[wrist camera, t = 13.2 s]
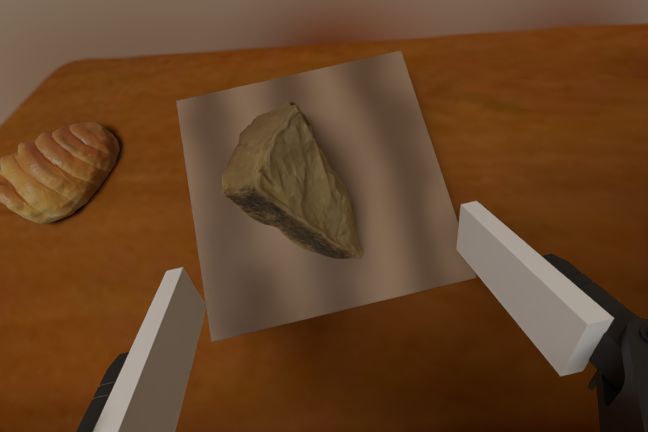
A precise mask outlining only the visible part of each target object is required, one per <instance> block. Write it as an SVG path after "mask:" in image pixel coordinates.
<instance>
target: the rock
mask: <svg viewBox="0 0 648 432" xmlns="http://www.w3.org/2000/svg"><path fill="white" fill-rule="evenodd" d="M222 195H223V196H224V197H226V198H227V199H228V200H229V201H231V202H233V203H234V204H235V205H236V206H237V207H238V208H239V209H241V210H242V211H243V212H244V213H245V214H246V215H248V216H249V217H251V218H252V219H254V220H256V221H257V222H259V223H262V224H264V225H270V226H273V227H276V228H278V229H279V230H280V231H281V233H282V234H283V235H284V236H286V237H287V238H288V239H289V240H290V241H291V242H292V243H294V244H296V245H298V246H299V247H301V248H303V249H306V250H308V251H311V252H314V253H317V254H320V255H324V256H327V257H330V258H336V259H348V258H356V259H360V257H361V256H362V254H363V251H362V249H361V247H360V246H359V243H358V237H357V231H356V227H355V217H354V213H353V209H352V208H353V204H352V202H351V200H350V197H349V196H348V192H347V189H346V187H345V185H344V184H343V183H342V181H341V180H340V178H339V177H338V175H337V173H336V172H335V171H334V170H333V169H331V166H330V165H329V163H328V161H327V157H326V156H325V155H324V153H323V152H322V150H321V149H320V148H319V147H318V144H317V142H316V140H315V138H314V136H313V132H312V124H311V122H310V120H309V119H308V117H307V115H306V114H304V113H303V112H302V110H301V109H300V108H299V106H298V105H297V104H296V103H294V102H293V101H288V102H286V103H284V104H283V105H281V106H280V107H278V108H277V109H275V110H273V111H271V112H268V113H264V114H261V115H258V116H257V117H256V118H255V119H254V120H253V122H252V123H251V124H250V125H248V126H247V128H245V129H244V130H243V132H241V133H240V135H239V144H238V145H237V147H236V148H235V150H234V152H233V154H232V156H231V158H230V160H229V162H228V165H227V168H226V170H225V171H224V173H223V175H222Z"/></svg>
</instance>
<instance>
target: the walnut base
mask: <svg viewBox="0 0 648 432" xmlns="http://www.w3.org/2000/svg"><path fill="white" fill-rule="evenodd" d="M288 101H293V102H294V103H296V104H297V105H298V106H299V108H300V109H301V110H302V112H303V113H304V114H306V115H307V117H308V119H309V120H310V122H311V124H312V132H313V136H314V138H315V140H316V142H317V144H318V147H319V148H320V149H321V150H322V152H323V153H324V155H325V156H326V157H327V161H328V163H329V165H330V166H331V169H333V170H334V171H335V172H336V173H337V175H338V177H339V178H340V180H341V181H342V183H343V184H344V185H345V187H346V189H347V192H348V196H349V197H350V200H351V202H352V204H353V208H352V209H353V213H354V217H355V227H356V231H357V237H358V243H359V246H360V247H361V249H362V251H363V254H362V256H361V257H360V259H356V258H348V259H336V258H330V257H327V256H324V255H320V254H317V253H314V252H311V251H308V250H306V249H303V248H301V247H299V246H298V245H296V244H294V243H292V242H291V241H290V240H289V239H288V238H287V237H286V236H284V235H283V234H282V233H281V231H280V230H279V229H278V228H276V227H273V226H270V225H264V224H262V223H259V222H257V221H256V220H254V219H252V218H251V217H249V216H248V215H246V214H245V213H244V212H243V211H242V210H241V209H239V208H238V207H237V206H236V205H235V204H234V203H233V202H231V201H229V200H228V199H227V198H226V197H224V196H223V195H222V175H223V173H224V171H225V170H226V168H227V165H228V162H229V160H230V158H231V156H232V154H233V152H234V150H235V148H236V147H237V145H238V144H239V135H240V133H241V132H243V130H244V129H245V128H247V126H248V125H250V124H251V123H252V122H253V120H254V119H255V118H256V117H257V116H258V115H261V114H264V113H268V112H271V111H273V110H275V109H277V108H278V107H280V106H281V105H283V104H284V103H286V102H288ZM176 102H177V109H178V116H179V123H180V130H181V136H182V143H183V150H184V157H185V164H186V171H187V178H188V184H189V191H190V198H191V205H192V212H193V219H194V226H195V232H196V239H197V246H198V253H199V260H200V267H201V273H202V280H203V287H204V294H205V301H206V306H207V315H208V321H209V328H210V335H211V342H213V341H217V340H222V339H226V338H230V337H234V336H238V335H242V334H246V333H251V332H255V331H259V330H263V329H267V328H271V327H275V326H279V325H284V324H288V323H292V322H296V321H300V320H304V319H308V318H312V317H317V316H321V315H325V314H329V313H333V312H337V311H341V310H346V309H350V308H354V307H358V306H362V305H366V304H370V303H374V302H379V301H383V300H387V299H391V298H395V297H399V296H403V295H408V294H412V293H416V292H420V291H424V290H428V289H432V288H436V287H441V286H445V285H449V284H453V283H457V282H461V281H465V280H469V279H474V278H476V275H475V272H474V270H473V269H472V268H471V267H470V265H469V264H468V263H467V262H466V260H465V259H464V258H463V257H462V256H461V254H460V253H459V252H458V251H457V249H456V248H457V238H458V228H459V224H458V221H457V218H456V215H455V212H454V209H453V206H452V203H451V200H450V197H449V194H448V191H447V188H446V185H445V182H444V179H443V176H442V173H441V170H440V167H439V164H438V161H437V158H436V155H435V152H434V149H433V146H432V143H431V140H430V137H429V134H428V131H427V128H426V125H425V122H424V119H423V116H422V113H421V110H420V107H419V104H418V101H417V98H416V95H415V92H414V89H413V86H412V83H411V80H410V77H409V74H408V71H407V68H406V65H405V62H404V59H403V56H402V53H401V51H397V52H392V53H388V54H384V55H379V56H375V57H370V58H366V59H361V60H357V61H352V62H348V63H343V64H339V65H335V66H330V67H326V68H321V69H317V70H312V71H308V72H303V73H299V74H294V75H290V76H285V77H281V78H277V79H272V80H268V81H263V82H259V83H254V84H250V85H245V86H241V87H236V88H232V89H228V90H223V91H219V92H214V93H210V94H205V95H201V96H196V97H192V98H187V99H183V100H179V101H176Z"/></svg>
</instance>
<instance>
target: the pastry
mask: <svg viewBox="0 0 648 432" xmlns="http://www.w3.org/2000/svg"><path fill="white" fill-rule="evenodd" d="M119 151H120V148H119V142H118V140H117V139H116V138H115V136H114V135H113V134H112V133H110V132H109V131H108V130H107V129H105V128H104V127H103V126H102V125H101V124H99V123H98V122H82V123H77V124H73V125H62V126H61V127H60V128H59V129H57V130H56V131H51V132H43V133H41V135H40V136H39V137H38V138H37V139H32V140H29V141H27V142H23V143H20V144H19V146H18V152H13V153H9V154H7V155H5V156H3V157H2V158H1V159H0V164H1V170H0V202H2V203H3V204H5V205H6V206H7V207H8V208H9V209H10V210H12V211H14V212H15V213H17V214H19V215H21V216H22V217H24V218H26V219H28V220H31V221H33V222H36V223H39V224H48V223H51V222H54V221H57V220H59V219H62V218H64V217H67V216H70V215H72V214H74V212H75V211H76V210H77V209H79V208H80V207H81V206H83V205H85V204H86V203H87V202H88V200H89V199H90V198H91V197H92V196H93V195H94V193H95V191H96V190H97V189H98V188H99V187H100V186H101V184H102V183H103V181H104V180H105V178H106V177H107V176H108V175H109V173H110V172H111V170H112V169H113V167H114V165H115V164H116V159H117V156H118V154H119Z"/></svg>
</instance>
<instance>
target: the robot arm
mask: <svg viewBox="0 0 648 432" xmlns="http://www.w3.org/2000/svg"><path fill="white" fill-rule="evenodd" d="M456 249H457V251H458V252H459V253H460V254H461V256H462V257H463V258H464V259H465V260H466V262H467V263H468V264H469V265H470V267H471V268H472V269H473V270H474V271H475V273H476V274H477V275H478V276H479V278H480V279H481V280H482V281H483V282H484V284H485V285H486V286H487V287H488V288H489V290H490V291H491V292H492V293H493V295H494V296H495V297H496V298H497V299H498V301H499V302H500V303H501V304H502V306H503V307H504V308H505V309H506V310H507V312H508V313H509V314H510V315H511V316H512V318H513V319H514V320H515V321H516V323H517V324H518V325H519V326H520V327H521V329H522V330H523V331H524V332H525V334H526V335H527V336H528V337H529V338H530V340H531V341H532V342H533V343H534V345H535V346H536V347H537V348H538V349H539V351H540V352H541V353H542V354H543V355H544V357H545V358H546V359H547V360H548V362H549V363H550V364H551V365H552V366H553V368H554V369H555V370H556V371H557V373H558V374H559V375H560V376H564V375H568V374H573V373H577V372H581V371H583V370H584V369H585V367H586V365H587V363H588V362H589V361H590V362H591V363H592V364H593V365H594V366H595V367H596V368H597V369H598V370H597V372H596V373H595V375H594V376H593V378H592V380H591V381H590V383H589V387H588V389H590V390H593V389H594V387H595V386H596V385H597V397H598V408H599V420H600V432H648V319H640V318H639V317H637V316H636V315H635V314H633V313H632V312H631V311H629V310H628V309H627V308H626V307H624V306H623V305H622V304H621V303H619V302H618V301H617V300H616V299H614V298H613V297H612V296H611V295H609V294H608V293H607V292H606V291H604V290H603V289H602V288H600V287H599V286H598V285H597V284H595V283H592V281H591V280H590V279H589V278H588V277H587V276H585V275H584V274H581V272H580V271H579V270H578V269H577V268H575V267H574V266H573V265H572V264H570V263H569V262H568V261H566V260H563V259H561V258H559V257H557V256H555V255H553V254H549V255H544V256H541V255H540V254H538V253H537V252H536V251H535V250H534V249H532V248H531V247H530V246H529V245H528V244H527V243H525V242H524V241H523V240H522V239H521V238H520V237H518V236H517V235H516V234H515V233H514V232H513V231H511V230H510V229H509V228H508V227H507V226H505V225H504V224H503V223H502V222H501V221H500V220H498V219H497V218H496V217H495V216H494V215H493V214H491V213H490V212H489V211H488V210H487V209H486V208H484V207H483V206H482V205H481V204H480V203H479V202H477V201H474V202H470V203H465V204H461V207H460V217H459V228H458V238H457V248H456ZM206 308H207V306H206V304H205V303H204V301H203V299H202V298H201V296H200V294H199V293H198V291H197V289H196V288H195V286H194V284H193V283H192V281H191V279H190V278H189V276H188V275H187V273H186V271H185V270H184V268H183V267H182V268H177V269H173V270H169V271H166V273H165V275H164V278H163V280H162V282H161V284H160V286H159V289H158V291H157V293H156V295H155V297H154V299H153V302H152V304H151V306H150V308H149V310H148V313H147V315H146V317H145V319H144V321H143V324H142V326H141V328H140V330H139V332H138V334H137V337H136V339H135V341H134V343H133V345H132V348H131V350H130V352H127V353H123V354H120V355H119V356H118V357H117V358H116V359H115V361H114V362H113V363H112V364H111V365H110V367H109V368H108V369H107V371H106V373H105V375H104V377H103V379H102V381H101V383H100V387H98V389H97V391H96V393H95V395H94V400H92V401H91V403H90V405H89V407H88V409H87V411H86V413H85V415H84V417H83V419H82V421H81V423H80V425H79V427H78V429H77V431H76V432H175V430H176V426H177V422H178V418H179V414H180V410H181V406H182V402H183V398H184V394H185V390H186V386H187V383H188V379H189V375H190V371H191V367H192V363H193V359H194V355H195V351H196V347H197V343H198V339H199V335H200V331H201V327H202V323H203V319H204V315H205V311H206Z"/></svg>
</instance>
